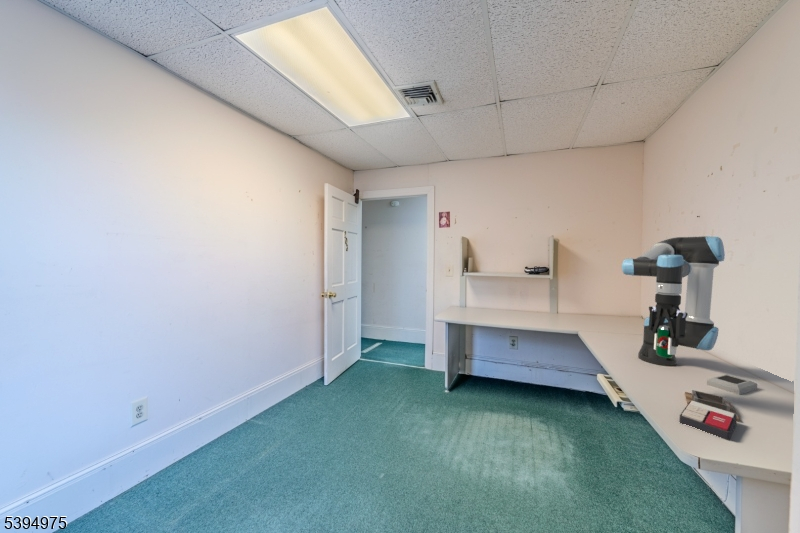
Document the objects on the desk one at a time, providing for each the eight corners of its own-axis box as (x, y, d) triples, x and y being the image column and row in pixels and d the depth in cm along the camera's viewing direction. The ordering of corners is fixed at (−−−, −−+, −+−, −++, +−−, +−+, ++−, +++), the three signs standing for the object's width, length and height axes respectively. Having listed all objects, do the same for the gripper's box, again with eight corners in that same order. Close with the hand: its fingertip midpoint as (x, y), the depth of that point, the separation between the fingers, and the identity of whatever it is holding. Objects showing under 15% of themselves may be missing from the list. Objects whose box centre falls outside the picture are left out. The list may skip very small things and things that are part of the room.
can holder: (684, 394, 116) (685, 385, 116) (729, 404, 108) (730, 395, 108) (688, 409, 105) (689, 399, 104) (739, 422, 97) (739, 412, 97)
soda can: (676, 358, 113) (678, 328, 113) (661, 357, 114) (663, 327, 114) (667, 354, 118) (669, 325, 118) (652, 353, 119) (654, 324, 119)
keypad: (757, 381, 122) (739, 386, 116) (757, 389, 122) (738, 395, 116) (725, 372, 131) (707, 377, 125) (725, 380, 131) (706, 385, 125)
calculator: (679, 413, 95) (690, 398, 104) (678, 425, 96) (689, 409, 104) (729, 430, 87) (737, 412, 95) (728, 444, 87) (736, 424, 96)
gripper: (638, 290, 124) (635, 344, 125) (683, 297, 106) (679, 360, 107) (655, 290, 124) (652, 344, 126) (702, 297, 106) (698, 360, 107)
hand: (664, 351), depth 116 cm, fingers closed on soda can, 5 cm apart
